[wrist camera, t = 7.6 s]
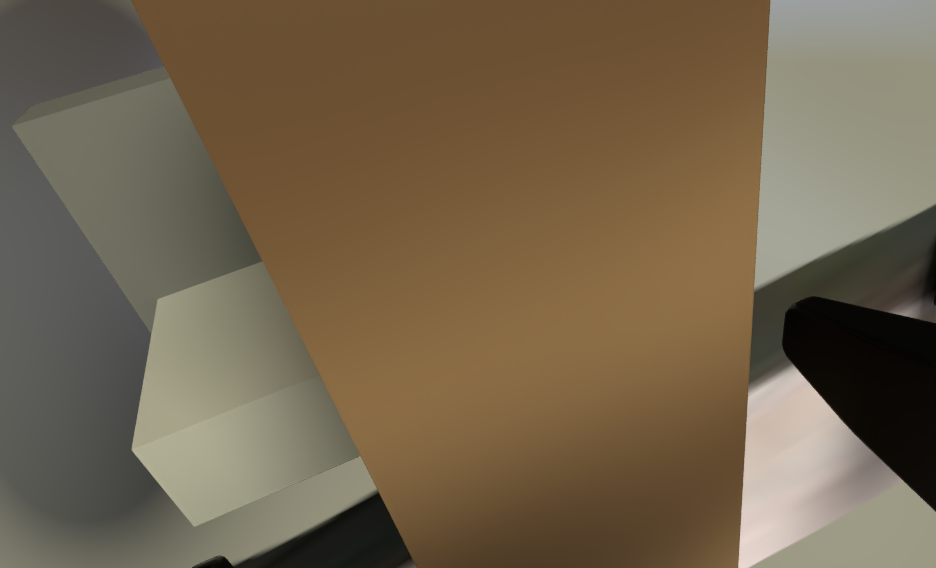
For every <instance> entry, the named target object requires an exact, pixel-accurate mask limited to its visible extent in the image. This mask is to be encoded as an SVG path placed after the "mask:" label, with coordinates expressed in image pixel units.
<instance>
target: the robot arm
mask: <svg viewBox="0 0 936 568" xmlns="http://www.w3.org/2000/svg"><path fill="white" fill-rule="evenodd" d="M934 305H935V306H936V295H935V299H934ZM782 346H783V350H784V352H785V354H786V356H787V357H788V359H789V360H790V361H791V362H792V364H793V365H794V366H795V367H796V368H797V369H798V371H799V372H800V373H801V374H802V375H803V376H804V377H805V379H806V380H807V381H808V382H809V383H810V384H811V385H812V387H813V388H814V389H815V390H816V391H817V392H818V394H819V395H820V396H821V397H822V398H823V399H824V400H825V402H826V403H827V404H828V405H829V406H830V407H831V408H832V410H833V411H834V412H835V413H836V414H837V415H838V417H839V418H840V419H841V420H842V421H843V422H844V423H845V424H846V425H847V427H848V428H849V429H850V430H851V431H852V432H853V433H854V434H855V435H856V436H857V437H858V438H859V439H860V440H861V441H862V442H863V443H864V444H865V445H866V446H867V447H868V448H869V449H870V450H871V451H872V452H873V453H875V454H876V455H877V456H878V457H879V458H880V459H881V460H882V461H883V462H884V463H885V464H886V465H887V466H888V467H889V468H890V469H891V470H892V471H893V472H895V473H896V474H897V475H898V476H899V477H900V478H901V479H902V480H903V481H904V482H905V483H906V484H907V485H908V486H909V487H910V488H911V489H912V490H913V491H915V492H916V493H917V494H918V495H919V496H920V497H921V498H922V499H923V500H924V501H925V502H926V503H927V504H928V505H929V506H930V507H931V508H933V510H935V511H936V323H932V322H928V321H923V320H919V319H915V318H910V317H906V316H901V315H897V314H893V313H888V312H884V311H879V310H875V309H870V308H866V307H862V306H857V305H853V304H848V303H844V302H839V301H835V300H831V299H826V298H822V297H817V296H810V297H806V298H804V299H801V300H799V301H797V302H795V303H792V304H790V305H789V306H788V307H787V309H786V311H785V319H784V328H783V338H782ZM192 568H234V567H233V566H232V565H231V563H230V562H229V561H228V560H227V559H226V558H225V557H223V556H216V557H213V558H211V559H209V560H206V561H204V562H202V563H200V564H197V565H195V566H194V567H192Z"/></svg>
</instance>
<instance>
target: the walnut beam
mask: <svg viewBox="0 0 936 568" xmlns="http://www.w3.org/2000/svg"><path fill="white" fill-rule="evenodd" d="M131 1H132V3H133V5H134V7H135V9H136V11H137V13H138V15H139V17H140V19H141V21H142V23H143V25H144V27H145V29H146V30H147V33H148V35H149V37H150V39H151V41H152V42H153V44H154V47H155V49H156V50H157V52H158V55H159V57H160V59H161V60H162V62H163V64H164V66H165V68H166V70H167V72H168V74H169V76H170V78H171V80H172V82H173V84H174V86H175V88H176V90H177V92H178V94H179V96H180V98H181V100H182V102H183V104H184V106H185V108H186V110H187V112H188V114H189V116H190V118H191V120H192V122H193V124H194V126H195V128H196V130H197V132H198V134H199V136H200V138H201V140H202V142H203V144H204V146H205V148H206V150H207V152H208V154H209V156H210V158H211V160H212V162H213V164H214V166H215V168H216V170H217V172H218V174H219V176H220V178H221V180H222V182H223V184H224V186H225V188H226V190H227V192H228V194H229V196H230V198H231V199H232V201H233V203H234V205H235V207H236V209H237V211H238V213H239V215H240V217H241V219H242V221H243V223H244V225H245V227H246V229H247V231H248V233H249V235H250V237H251V239H252V241H253V243H254V245H255V247H256V249H257V251H258V253H259V255H260V257H261V259H262V261H263V263H264V265H265V267H266V269H267V271H268V273H269V275H270V277H271V279H272V281H273V283H274V285H275V287H276V289H277V291H278V293H279V295H280V297H281V299H282V301H283V303H284V305H285V307H286V309H287V311H288V313H289V315H290V317H291V319H292V321H293V323H294V325H295V327H296V329H297V331H298V332H299V334H300V336H301V338H302V340H303V342H304V344H305V346H306V348H307V350H308V352H309V354H310V356H311V358H312V360H313V362H314V364H315V366H316V368H317V370H318V372H319V374H320V376H321V378H322V380H323V382H324V384H325V386H326V388H327V390H328V392H329V394H330V396H331V398H332V400H333V402H334V404H335V406H336V408H337V410H338V412H339V414H340V416H341V418H342V420H343V422H344V424H345V426H346V428H347V430H348V432H349V434H350V436H351V438H352V440H353V442H354V444H355V446H356V448H357V450H358V452H359V454H360V456H361V457H362V460H363V461H364V463H365V465H366V467H367V469H368V471H369V473H370V475H371V477H372V479H373V481H374V483H375V485H376V487H377V489H378V491H379V493H380V495H381V497H382V499H383V501H384V503H385V505H386V507H387V509H388V511H389V513H390V515H391V517H392V519H393V521H394V523H395V525H396V527H397V529H398V531H399V533H400V535H401V537H402V539H403V541H404V543H405V545H406V547H407V549H408V551H409V553H410V555H411V557H412V559H413V561H414V563H415V565H416V567H417V568H738V560H739V543H740V525H741V507H742V490H743V472H744V455H745V437H746V420H747V402H748V384H749V367H750V349H751V332H752V314H753V296H754V278H755V259H756V244H757V225H758V207H759V190H760V173H761V156H762V138H763V120H764V103H765V85H766V67H767V50H768V33H769V13H770V0H131Z"/></svg>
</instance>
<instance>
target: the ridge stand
mask: <svg viewBox="0 0 936 568" xmlns="http://www.w3.org/2000/svg"><path fill="white" fill-rule="evenodd" d="M12 128H13V129H14V131H15V132H16V134H17V135H18V137H19V138H20V140H21V141H22V143H23V144H24V146H25V147H26V149H27V150H28V152H29V153H30V154H31V156H32V158H33V159H34V161H35V162H36V163H37V165H38V166H39V168H40V169H41V171H42V172H43V174H44V175H45V177H46V178H47V180H48V181H49V183H50V184H51V186H52V187H53V189H54V190H55V192H56V193H57V195H58V196H59V198H60V199H61V201H62V202H63V203H64V205H65V207H66V208H67V209H68V211H69V213H70V214H71V215H72V217H73V219H74V220H75V222H76V223H77V224H78V226H79V228H80V229H81V230H82V232H83V233H84V235H85V236H86V238H87V239H88V241H89V242H90V244H91V245H92V247H93V248H94V250H95V251H96V253H97V254H98V256H99V257H100V259H101V260H102V262H103V263H104V265H105V266H106V268H107V269H108V270H109V272H110V274H111V275H112V277H113V278H114V280H115V281H116V283H117V284H118V286H119V287H120V289H121V290H122V291H123V293H124V294H125V296H126V297H127V299H128V300H129V302H130V303H131V305H132V306H133V308H134V309H135V311H136V312H137V314H138V315H139V317H140V318H141V320H142V321H143V323H144V324H145V326H146V327H147V329H148V330H149V332H150V333H151V341H150V346H149V352H148V359H147V364H146V369H145V375H144V382H143V387H142V393H141V398H140V404H139V410H138V416H137V422H136V427H135V433H134V439H133V445H132V451H133V452H134V453H135V455H136V456H137V457H138V458H139V459H140V461H141V462H142V463H143V465H144V466H145V467H146V468H147V469H148V471H149V472H150V473H151V474H152V476H153V477H154V478H155V479H156V481H157V482H158V483H159V484H160V485H161V487H162V488H163V489H164V490H165V492H166V493H167V494H168V495H169V496H170V498H171V499H172V500H173V501H174V503H175V504H176V505H177V506H178V507H179V509H180V510H181V511H182V513H183V514H184V515H185V516H186V517H187V519H188V520H189V521H190V522H191V524H192V525H193V526H194V527H195V526H198V525H200V524H202V523H204V522H207V521H209V520H212V519H214V518H216V517H219V516H221V515H223V514H226V513H228V512H230V511H233V510H235V509H237V508H240V507H242V506H244V505H247V504H249V503H251V502H254V501H256V500H258V499H261V498H263V497H265V496H267V495H270V494H272V493H275V492H277V491H279V490H282V489H284V488H286V487H289V486H291V485H294V484H296V483H298V482H301V481H303V480H305V479H307V478H310V477H312V476H315V475H317V474H319V473H322V472H324V471H326V470H328V469H331V468H333V467H335V466H338V465H340V464H342V463H345V462H347V461H349V460H352V459H354V458H357V457H359V456H360V454H359V452H358V450H357V448H356V446H355V444H354V442H353V440H352V438H351V436H350V434H349V432H348V430H347V428H346V426H345V424H344V422H343V420H342V418H341V416H340V414H339V412H338V410H337V408H336V406H335V404H334V402H333V400H332V398H331V396H330V394H329V392H328V390H327V388H326V386H325V384H324V382H323V380H322V378H321V376H320V374H319V372H318V370H317V368H316V366H315V364H314V362H313V360H312V358H311V356H310V354H309V352H308V350H307V348H306V346H305V344H304V342H303V340H302V338H301V336H300V334H299V332H298V331H297V329H296V327H295V325H294V323H293V321H292V319H291V317H290V315H289V313H288V311H287V309H286V307H285V305H284V303H283V301H282V299H281V297H280V295H279V293H278V291H277V289H276V287H275V285H274V283H273V281H272V279H271V277H270V275H269V273H268V271H267V269H266V267H265V265H264V263H263V261H262V259H261V257H260V255H259V253H258V251H257V249H256V247H255V245H254V243H253V241H252V239H251V237H250V235H249V233H248V231H247V229H246V227H245V225H244V223H243V221H242V219H241V217H240V215H239V213H238V211H237V209H236V207H235V205H234V203H233V201H232V199H231V198H230V196H229V194H228V192H227V190H226V188H225V186H224V184H223V182H222V180H221V178H220V176H219V174H218V172H217V170H216V168H215V166H214V164H213V162H212V160H211V158H210V156H209V154H208V152H207V150H206V148H205V146H204V144H203V142H202V140H201V138H200V136H199V134H198V132H197V130H196V128H195V126H194V124H193V122H192V120H191V118H190V116H189V114H188V112H187V110H186V108H185V106H184V104H183V102H182V100H181V98H180V96H179V94H178V92H177V90H176V88H175V86H174V84H173V82H172V80H171V78H170V76H169V74H168V72H167V70H166V68H165V66H164V67H161V68H157V69H154V70H151V71H147V72H144V73H140V74H137V75H134V76H130V77H127V78H124V79H121V80H117V81H114V82H110V83H107V84H104V85H100V86H97V87H94V88H90V89H87V90H84V91H80V92H77V93H73V94H70V95H67V96H64V97H60V98H57V99H54V100H50V101H47V102H43V103H41V104H37V105H34V106H32V107H31V108H30V109H29V110H28V111H27V112H26V113H25V114H24V115H23V116H22V117H21V118H20V119H19V120H17V121H16V122H15V124H13V125H12Z"/></svg>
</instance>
